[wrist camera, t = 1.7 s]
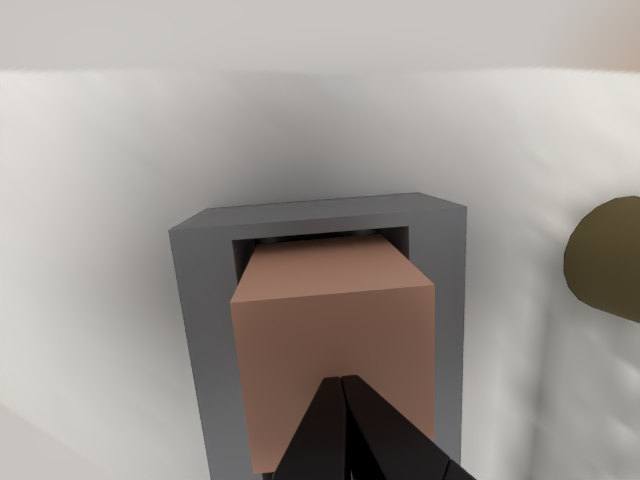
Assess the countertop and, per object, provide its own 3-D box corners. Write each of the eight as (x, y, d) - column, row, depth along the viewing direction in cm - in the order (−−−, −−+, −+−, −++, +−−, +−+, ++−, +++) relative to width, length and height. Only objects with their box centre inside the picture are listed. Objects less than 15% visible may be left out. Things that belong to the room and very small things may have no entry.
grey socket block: (420, 470, 21) (458, 565, 16) (246, 488, 20) (230, 593, 15) (418, 192, 17) (466, 206, 12) (206, 208, 17) (168, 230, 12)
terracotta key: (384, 345, 15) (434, 454, 10) (269, 355, 15) (253, 474, 9) (380, 234, 14) (434, 284, 8) (257, 243, 14) (229, 302, 8)
